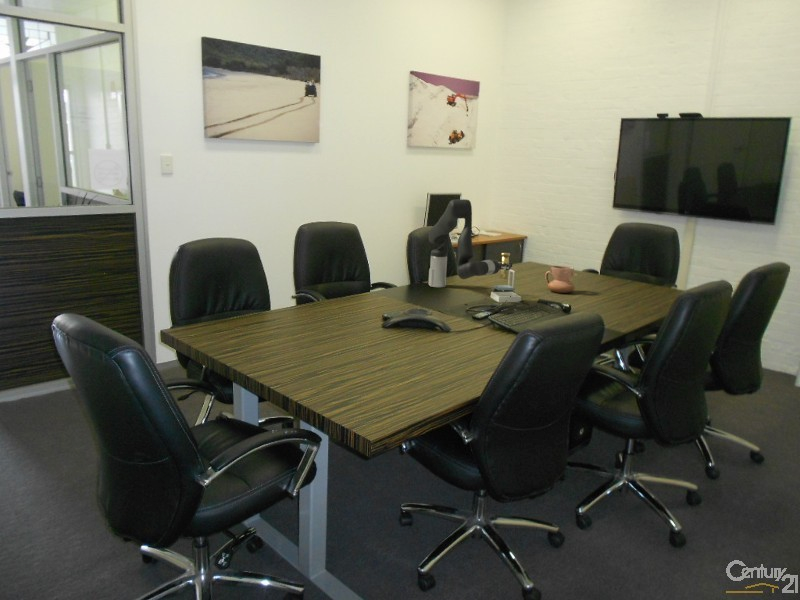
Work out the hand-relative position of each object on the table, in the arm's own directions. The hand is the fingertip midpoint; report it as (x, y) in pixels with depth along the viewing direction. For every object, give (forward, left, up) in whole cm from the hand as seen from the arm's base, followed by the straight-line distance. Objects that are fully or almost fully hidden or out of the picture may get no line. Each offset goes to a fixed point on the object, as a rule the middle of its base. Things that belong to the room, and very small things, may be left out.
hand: (508, 264), depth 305 cm
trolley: (+2, +8, -18) cm, 20 cm away
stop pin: (-2, -2, -7) cm, 8 cm away
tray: (-1, -2, -18) cm, 18 cm away
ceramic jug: (+38, +16, -18) cm, 45 cm away
